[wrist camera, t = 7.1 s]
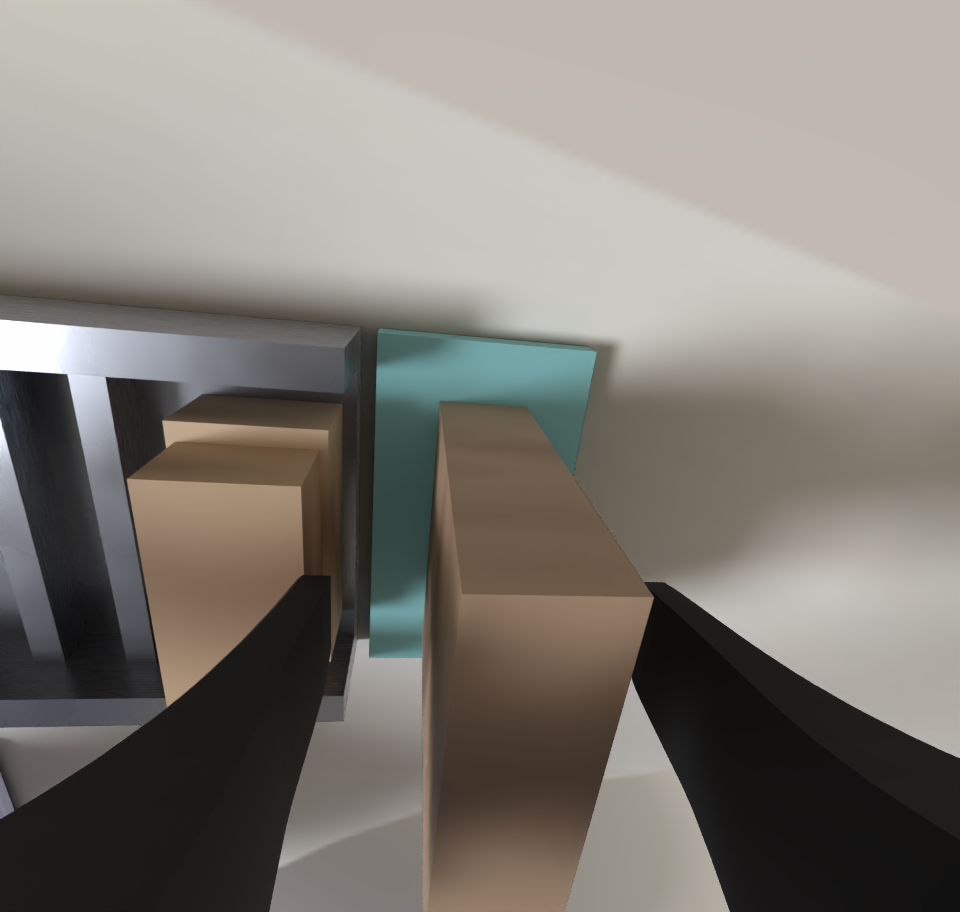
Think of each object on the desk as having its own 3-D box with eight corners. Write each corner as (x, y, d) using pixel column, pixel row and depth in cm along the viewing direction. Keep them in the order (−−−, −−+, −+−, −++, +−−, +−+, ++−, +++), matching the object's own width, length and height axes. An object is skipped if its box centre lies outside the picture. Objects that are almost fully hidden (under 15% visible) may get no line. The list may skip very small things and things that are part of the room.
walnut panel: (495, 629, 17) (555, 944, 9) (422, 628, 17) (422, 954, 9) (526, 407, 14) (654, 597, 6) (439, 400, 14) (462, 594, 6)
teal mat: (534, 641, 19) (538, 657, 18) (371, 640, 18) (369, 658, 17) (587, 346, 15) (596, 351, 14) (379, 328, 14) (377, 332, 13)
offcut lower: (342, 610, 16) (330, 661, 14) (225, 609, 16) (196, 661, 14) (342, 404, 14) (328, 430, 12) (202, 394, 13) (162, 420, 11)
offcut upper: (323, 647, 14) (308, 708, 12) (202, 647, 14) (167, 709, 12) (319, 450, 12) (301, 486, 10) (174, 441, 11) (126, 479, 9)
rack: (357, 640, 18) (343, 721, 15) (-94, 639, 16) (-216, 731, 13) (361, 326, 14) (344, 348, 11) (-244, 272, 12) (-476, 280, 9)
